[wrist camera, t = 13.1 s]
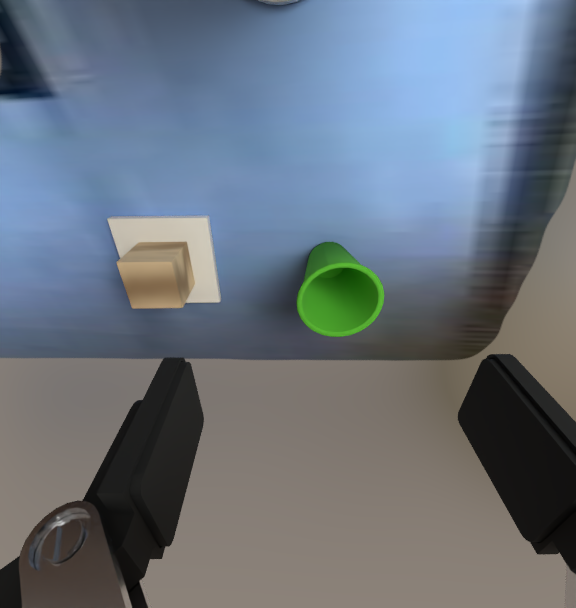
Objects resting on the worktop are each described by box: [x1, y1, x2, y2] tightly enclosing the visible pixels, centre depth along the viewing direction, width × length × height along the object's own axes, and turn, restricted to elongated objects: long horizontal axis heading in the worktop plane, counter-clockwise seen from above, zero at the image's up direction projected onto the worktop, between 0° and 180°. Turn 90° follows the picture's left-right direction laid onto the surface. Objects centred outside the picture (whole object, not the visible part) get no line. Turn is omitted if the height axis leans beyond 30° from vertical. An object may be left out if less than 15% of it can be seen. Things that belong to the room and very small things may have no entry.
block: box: [116, 242, 195, 309], centre depth 37 cm, size 6×6×6 cm
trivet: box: [107, 216, 221, 303], centre depth 40 cm, size 12×12×1 cm
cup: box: [296, 242, 384, 337], centre depth 36 cm, size 9×9×11 cm
